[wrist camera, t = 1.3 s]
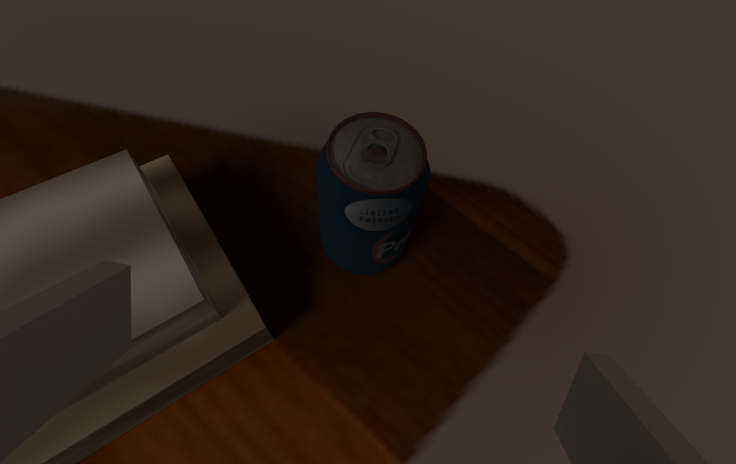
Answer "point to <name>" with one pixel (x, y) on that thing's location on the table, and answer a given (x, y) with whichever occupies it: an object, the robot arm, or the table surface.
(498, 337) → the table surface
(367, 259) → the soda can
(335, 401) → the table surface
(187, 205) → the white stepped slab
